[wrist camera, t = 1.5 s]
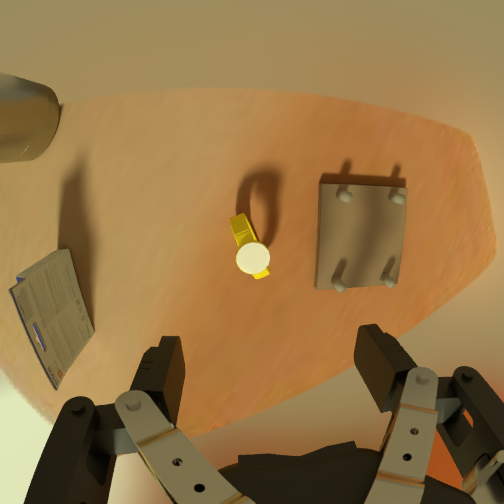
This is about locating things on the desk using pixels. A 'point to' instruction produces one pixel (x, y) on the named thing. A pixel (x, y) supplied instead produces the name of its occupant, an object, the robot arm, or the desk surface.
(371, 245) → the pin plate
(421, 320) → the desk surface
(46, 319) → the ink box
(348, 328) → the desk surface
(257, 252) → the watch
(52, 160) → the desk surface
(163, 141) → the desk surface
